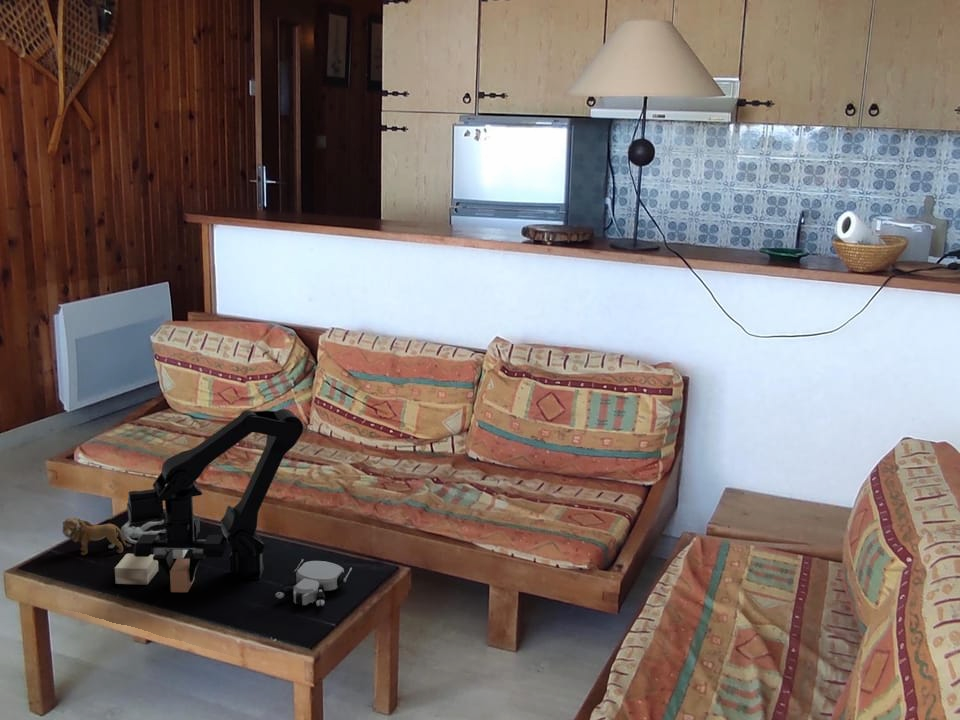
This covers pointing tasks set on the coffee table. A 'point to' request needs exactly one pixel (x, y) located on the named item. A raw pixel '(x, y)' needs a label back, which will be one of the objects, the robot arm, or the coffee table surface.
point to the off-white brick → (179, 553)
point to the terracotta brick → (180, 576)
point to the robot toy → (314, 582)
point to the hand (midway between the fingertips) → (182, 581)
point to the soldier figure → (138, 531)
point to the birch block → (135, 570)
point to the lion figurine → (92, 533)
